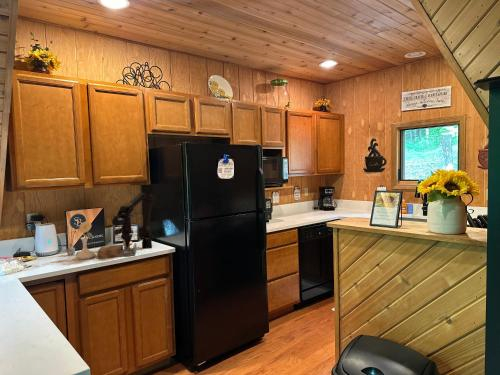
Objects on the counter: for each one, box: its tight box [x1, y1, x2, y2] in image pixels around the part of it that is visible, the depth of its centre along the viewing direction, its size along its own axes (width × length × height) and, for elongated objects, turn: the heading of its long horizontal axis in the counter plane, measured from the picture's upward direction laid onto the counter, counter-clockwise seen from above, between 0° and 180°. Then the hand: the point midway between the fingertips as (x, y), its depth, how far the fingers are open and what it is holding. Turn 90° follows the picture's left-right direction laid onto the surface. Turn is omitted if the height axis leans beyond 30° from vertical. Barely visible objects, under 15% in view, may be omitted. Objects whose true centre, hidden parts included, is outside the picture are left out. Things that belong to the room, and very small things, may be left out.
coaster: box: [122, 241, 133, 247], centre depth 236 cm, size 6×6×2 cm
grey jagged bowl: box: [121, 242, 138, 257], centre depth 236 cm, size 14×14×6 cm
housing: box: [97, 244, 124, 260], centre depth 234 cm, size 14×14×5 cm
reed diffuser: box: [62, 226, 80, 256], centre depth 239 cm, size 10×7×20 cm
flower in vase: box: [75, 220, 96, 260], centre depth 227 cm, size 13×11×25 cm
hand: (127, 246), depth 236 cm, fingers closed on coaster, 6 cm apart
